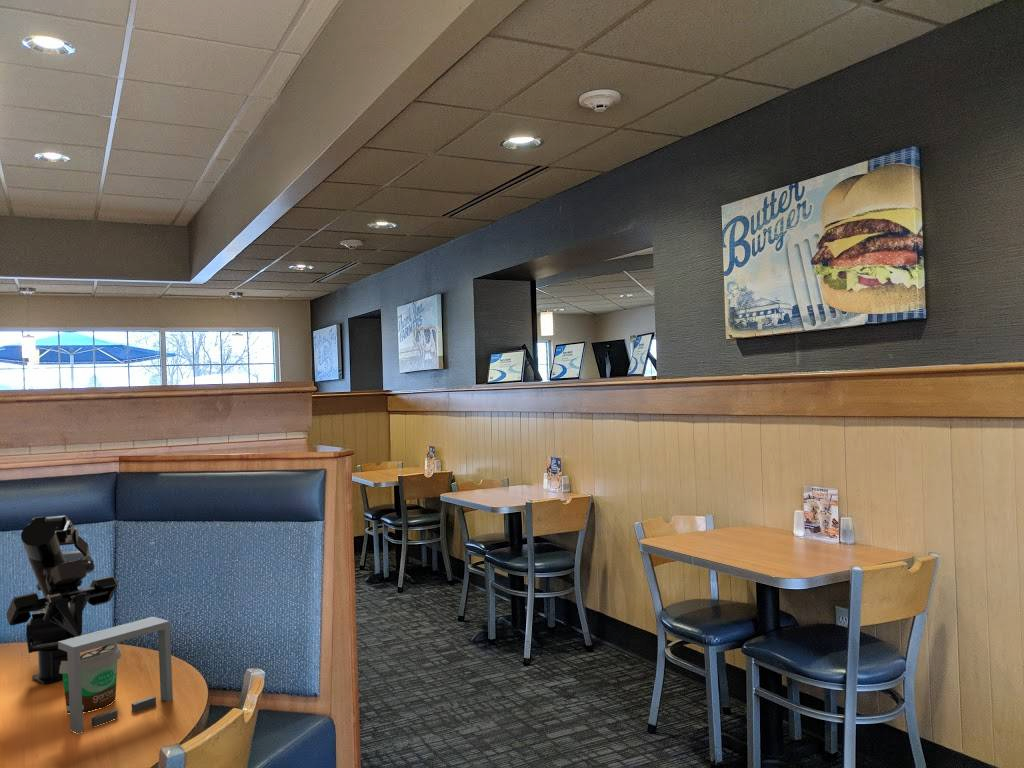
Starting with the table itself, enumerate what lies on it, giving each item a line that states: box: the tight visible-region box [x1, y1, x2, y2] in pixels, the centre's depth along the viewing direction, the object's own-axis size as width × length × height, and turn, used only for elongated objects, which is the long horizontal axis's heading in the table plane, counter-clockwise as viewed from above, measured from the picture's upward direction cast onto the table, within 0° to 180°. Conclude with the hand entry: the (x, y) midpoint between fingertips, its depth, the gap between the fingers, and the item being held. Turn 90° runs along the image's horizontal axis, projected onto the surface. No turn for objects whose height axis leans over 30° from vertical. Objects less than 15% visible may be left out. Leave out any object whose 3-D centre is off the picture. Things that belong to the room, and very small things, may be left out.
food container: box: [59, 642, 122, 714], centre depth 145 cm, size 12×6×10 cm, turn 168°
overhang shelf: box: [58, 616, 174, 734], centre depth 141 cm, size 6×17×15 cm, turn 143°
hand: (79, 635), depth 150 cm, fingers closed
